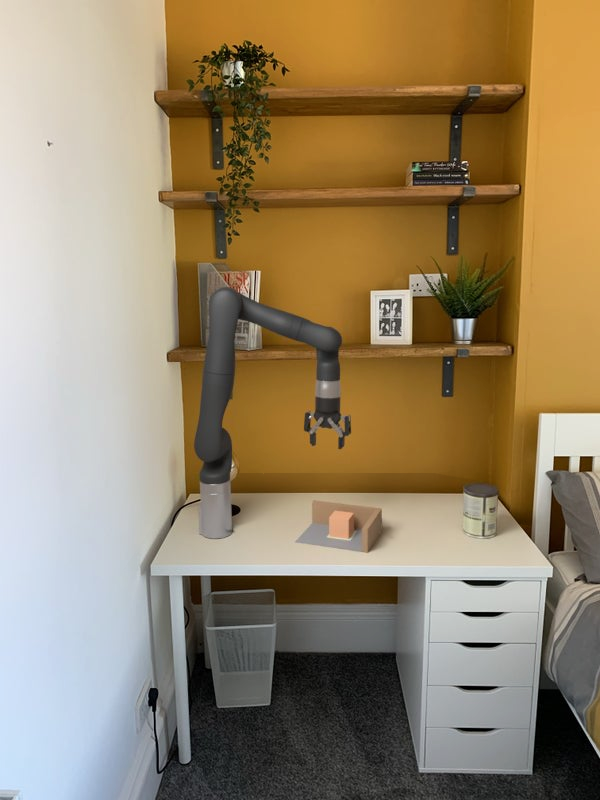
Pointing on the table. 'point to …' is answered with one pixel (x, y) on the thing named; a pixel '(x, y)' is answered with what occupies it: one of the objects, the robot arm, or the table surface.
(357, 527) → the arena
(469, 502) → the coffee can
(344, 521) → the cube
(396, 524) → the table surface
